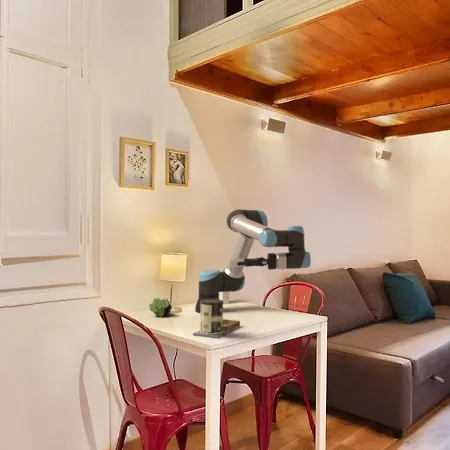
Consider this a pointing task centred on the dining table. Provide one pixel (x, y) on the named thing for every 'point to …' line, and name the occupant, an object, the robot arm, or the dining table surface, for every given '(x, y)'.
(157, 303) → the fruit
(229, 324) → the square wooden frame
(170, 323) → the dining table surface
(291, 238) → the robot arm
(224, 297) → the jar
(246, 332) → the dining table surface
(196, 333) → the mat
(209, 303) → the coffee can
